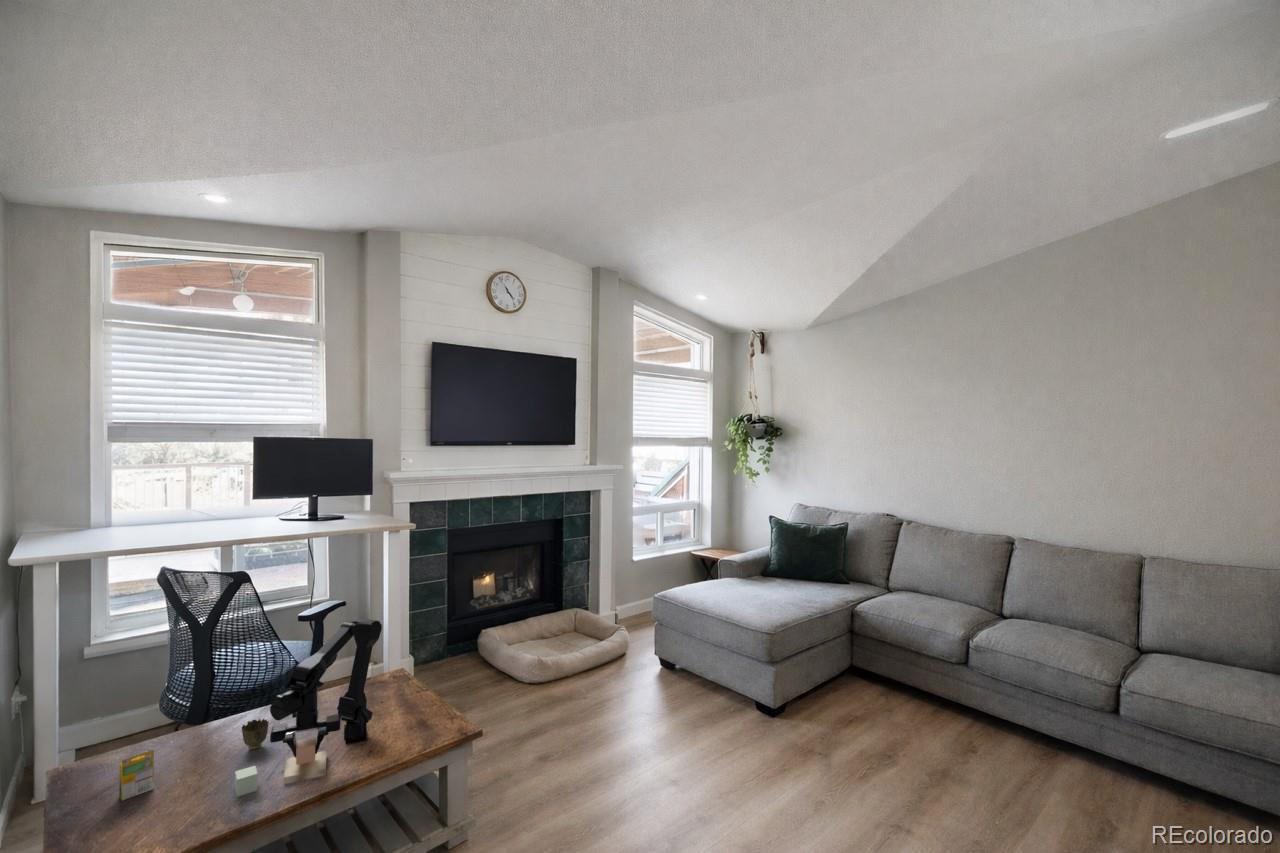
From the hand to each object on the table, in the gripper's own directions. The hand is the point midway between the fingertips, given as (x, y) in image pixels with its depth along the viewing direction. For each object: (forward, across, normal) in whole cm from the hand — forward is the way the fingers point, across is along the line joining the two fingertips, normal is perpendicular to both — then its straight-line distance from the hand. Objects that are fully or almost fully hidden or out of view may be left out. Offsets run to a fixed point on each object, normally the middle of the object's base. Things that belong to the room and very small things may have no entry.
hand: (306, 755), depth 185 cm
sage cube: (+5, +15, +4) cm, 16 cm away
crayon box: (+5, +43, -6) cm, 44 cm away
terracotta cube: (+1, 0, 0) cm, 1 cm away
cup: (+5, +16, -20) cm, 26 cm away
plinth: (+5, 0, 0) cm, 5 cm away
